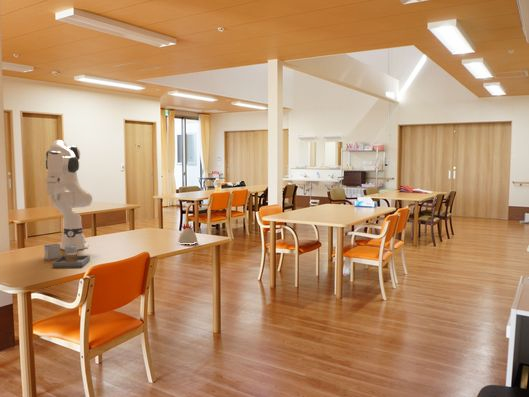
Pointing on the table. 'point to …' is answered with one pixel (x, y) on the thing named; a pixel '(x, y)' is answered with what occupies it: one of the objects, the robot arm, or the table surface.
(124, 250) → the table surface
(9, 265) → the table surface
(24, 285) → the table surface
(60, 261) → the tray
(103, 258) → the table surface
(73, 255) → the walnut block
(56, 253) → the medicine box
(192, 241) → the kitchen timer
